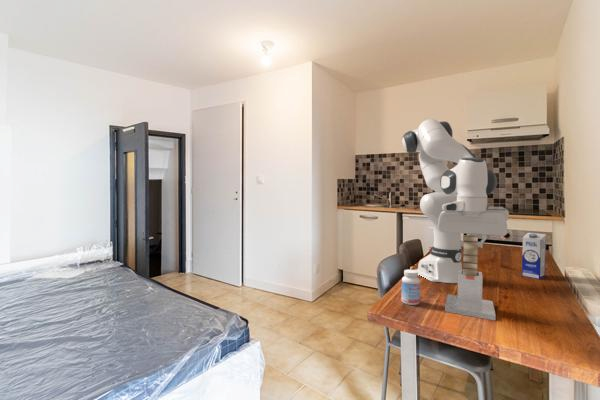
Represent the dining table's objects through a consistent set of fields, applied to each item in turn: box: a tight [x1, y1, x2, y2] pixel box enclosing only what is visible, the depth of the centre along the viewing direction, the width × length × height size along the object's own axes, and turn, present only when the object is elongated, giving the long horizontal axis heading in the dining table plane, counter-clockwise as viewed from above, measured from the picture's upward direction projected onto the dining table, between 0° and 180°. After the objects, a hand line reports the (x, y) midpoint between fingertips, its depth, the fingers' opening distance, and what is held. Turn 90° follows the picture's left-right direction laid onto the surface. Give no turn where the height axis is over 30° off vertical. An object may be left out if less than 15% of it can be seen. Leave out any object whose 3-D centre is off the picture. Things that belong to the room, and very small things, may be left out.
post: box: [462, 234, 479, 276], centre depth 101 cm, size 4×4×17 cm
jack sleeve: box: [444, 269, 496, 321], centre depth 101 cm, size 14×14×12 cm
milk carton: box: [521, 232, 547, 280], centre depth 139 cm, size 7×7×20 cm
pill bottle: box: [400, 269, 421, 306], centre depth 107 cm, size 6×6×11 cm
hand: (470, 247), depth 101 cm, fingers closed on post, 4 cm apart
